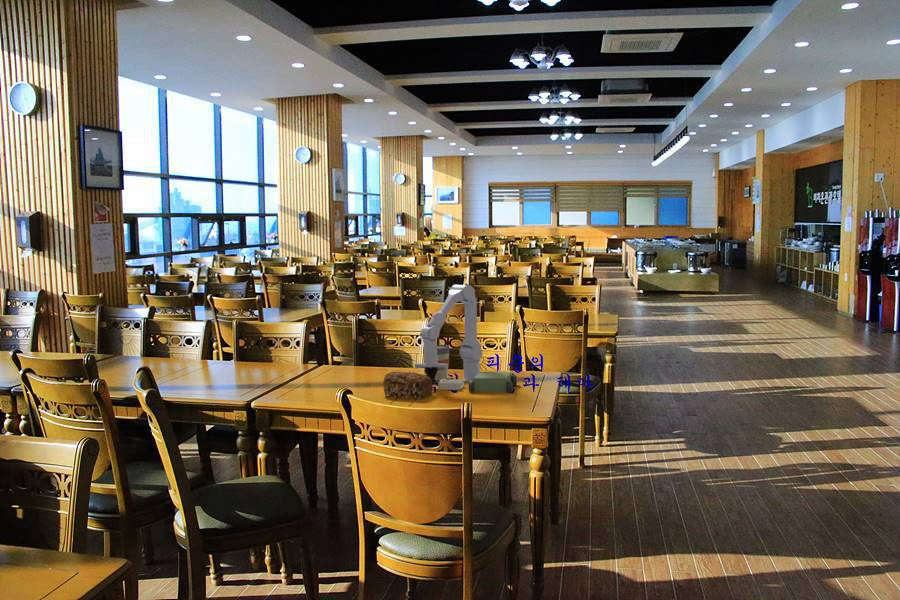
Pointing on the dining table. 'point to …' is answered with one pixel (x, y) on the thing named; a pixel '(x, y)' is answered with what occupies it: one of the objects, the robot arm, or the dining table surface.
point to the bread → (407, 385)
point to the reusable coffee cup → (442, 361)
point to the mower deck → (493, 382)
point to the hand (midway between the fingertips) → (431, 384)
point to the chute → (450, 384)
